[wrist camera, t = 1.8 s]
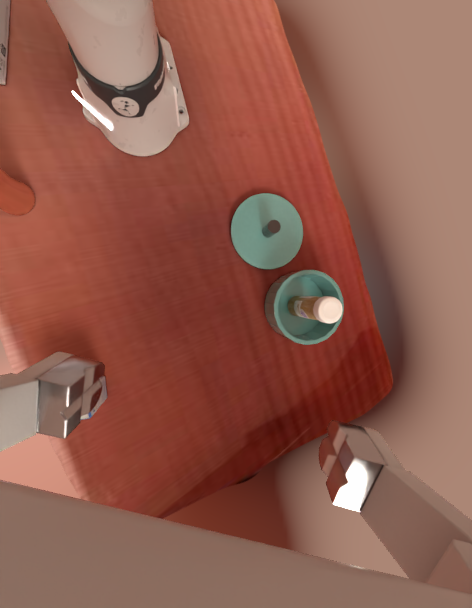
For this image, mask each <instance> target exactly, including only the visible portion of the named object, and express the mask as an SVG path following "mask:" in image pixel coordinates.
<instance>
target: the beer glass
mask: <svg viewBox="0 0 472 608" xmlns="http://www.w3.org/2000/svg"><path fill="white" fill-rule="evenodd" d="M34 204H35V196H34V193H33V191H32V190H31V188H30V187H29V186H28V185H26V184H25V183H23V182H20V181H18V180H15V179H12V178H11V177H9V176H8V175H7V174H6V173H5V172H4V171H3V170H2V169H1V168H0V209H1V210H3V211H4V212H6V213H8V214H11V215H24V214H26V213H28V212H30V211H31V210H32V208H33V207H34Z"/></svg>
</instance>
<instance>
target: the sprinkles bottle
mask: <svg viewBox="0 0 472 608" xmlns="http://www.w3.org/2000/svg"><path fill="white" fill-rule="evenodd" d="M288 310H289V312H290V313H291V314H292V315H294V316H300V317H303V318H308V319H314V320H319V321H320V322H323V323H329V324H330V323H334V322H336V321H338V320H339V319H340V317H341V315H342V311H343V308H342V304H341V302H340V301H339V300H338V299H337V298H335V297H330V296H324V297H316V296H294V297H292V298H291V299H290V300H289V302H288Z"/></svg>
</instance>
